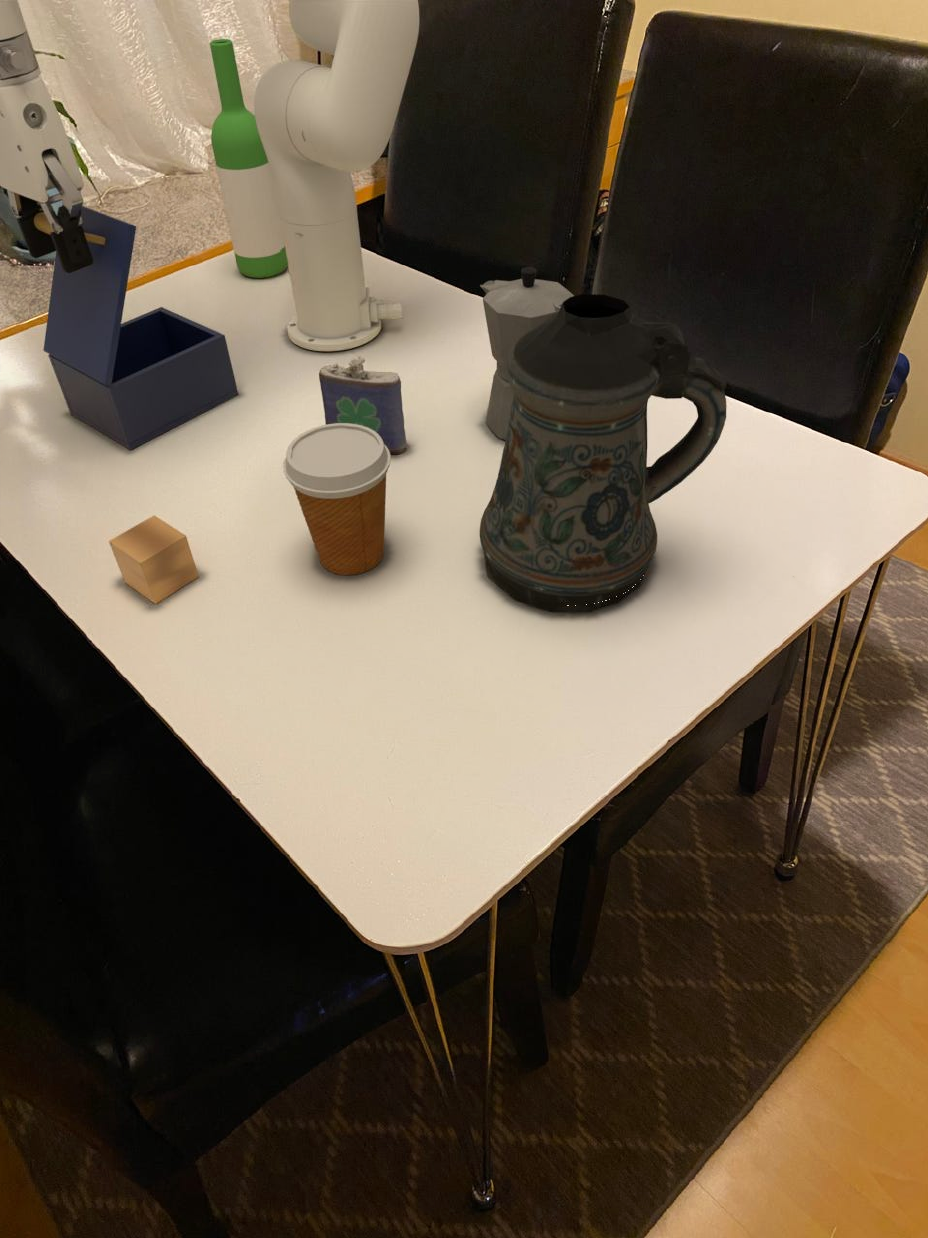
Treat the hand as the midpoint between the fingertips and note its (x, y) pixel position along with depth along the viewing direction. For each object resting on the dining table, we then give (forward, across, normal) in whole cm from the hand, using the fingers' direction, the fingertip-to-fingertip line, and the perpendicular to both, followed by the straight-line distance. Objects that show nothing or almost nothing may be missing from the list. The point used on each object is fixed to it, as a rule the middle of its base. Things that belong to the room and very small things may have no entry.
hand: (61, 258), depth 93 cm
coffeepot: (+20, -39, -29) cm, 53 cm away
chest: (+20, 0, -5) cm, 20 cm away
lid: (+4, 0, -2) cm, 5 cm away
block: (+19, -28, +14) cm, 37 cm away
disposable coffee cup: (+20, -40, 0) cm, 44 cm away
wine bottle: (+20, +21, -39) cm, 49 cm away
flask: (+20, -27, -15) cm, 37 cm away
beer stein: (+20, -57, -14) cm, 62 cm away
